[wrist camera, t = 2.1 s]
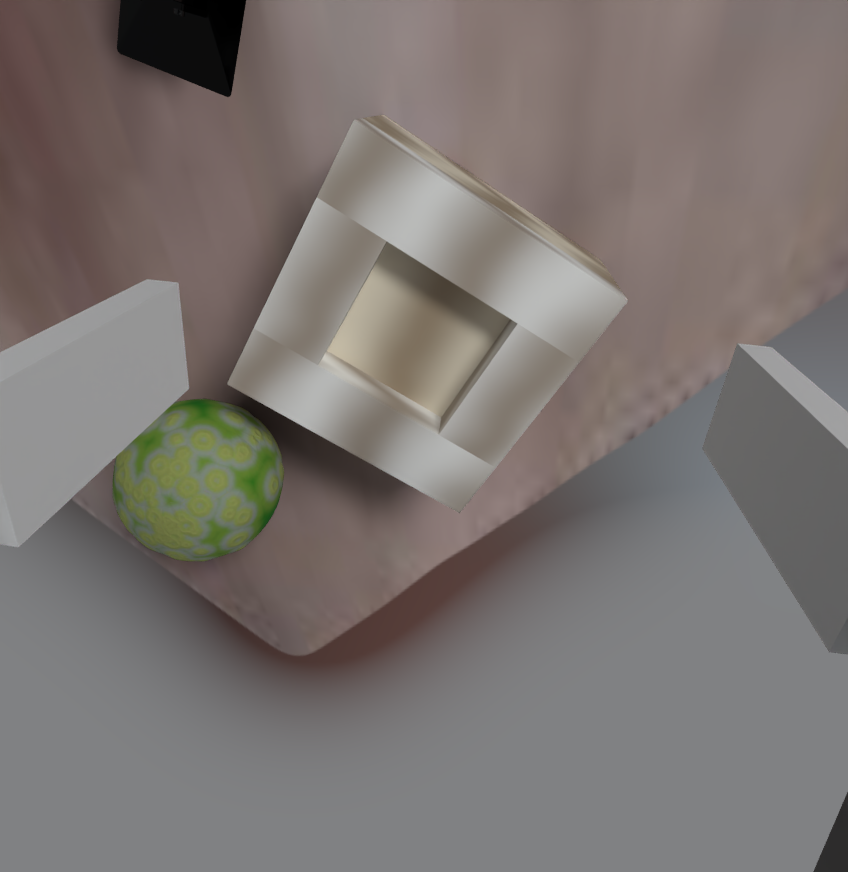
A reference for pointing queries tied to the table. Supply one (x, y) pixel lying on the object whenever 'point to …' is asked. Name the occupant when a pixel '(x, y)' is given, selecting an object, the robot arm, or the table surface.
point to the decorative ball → (198, 480)
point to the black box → (184, 38)
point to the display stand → (422, 316)
